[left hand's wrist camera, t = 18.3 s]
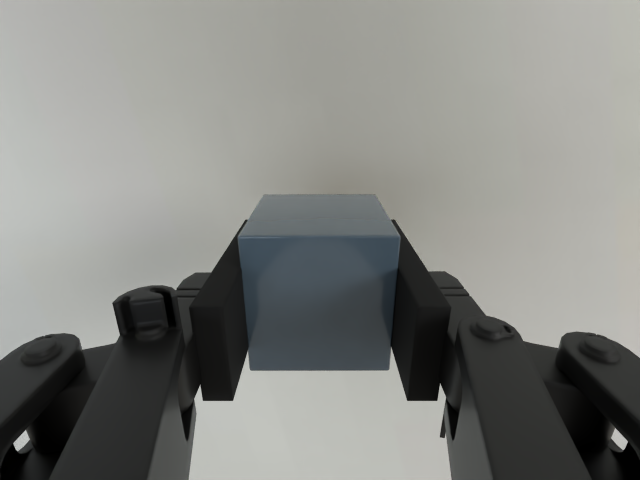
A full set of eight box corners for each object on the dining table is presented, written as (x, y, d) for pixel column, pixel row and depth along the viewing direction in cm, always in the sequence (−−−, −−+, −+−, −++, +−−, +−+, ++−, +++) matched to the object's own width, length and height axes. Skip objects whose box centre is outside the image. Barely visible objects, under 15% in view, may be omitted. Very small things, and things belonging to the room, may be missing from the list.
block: (269, 295, 15) (249, 371, 11) (263, 194, 14) (236, 236, 9) (370, 295, 15) (389, 371, 11) (375, 193, 14) (401, 235, 9)
